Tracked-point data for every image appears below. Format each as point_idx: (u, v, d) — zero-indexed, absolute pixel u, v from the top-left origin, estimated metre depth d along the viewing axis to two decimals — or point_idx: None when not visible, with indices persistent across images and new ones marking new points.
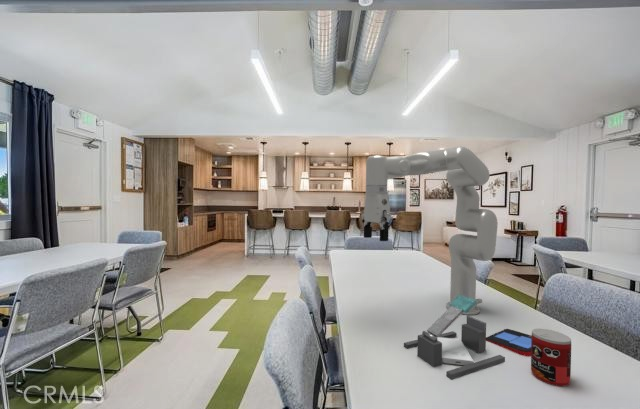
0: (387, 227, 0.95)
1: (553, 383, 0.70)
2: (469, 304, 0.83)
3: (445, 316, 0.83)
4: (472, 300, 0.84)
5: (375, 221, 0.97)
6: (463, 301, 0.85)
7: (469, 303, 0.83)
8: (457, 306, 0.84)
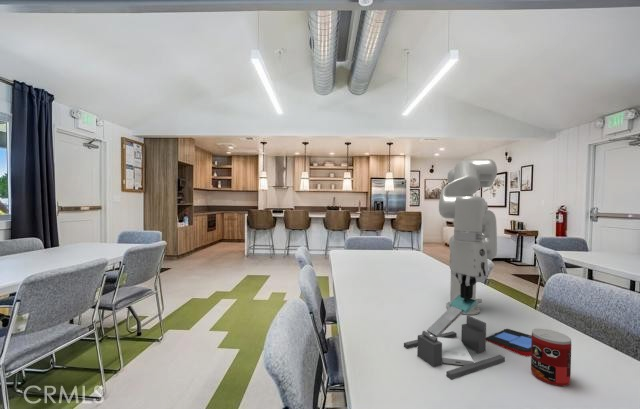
0: (473, 283, 0.84)
1: (553, 383, 0.70)
2: (469, 304, 0.83)
3: (445, 316, 0.83)
4: (472, 300, 0.84)
5: (470, 275, 0.82)
6: (463, 302, 0.85)
7: (469, 303, 0.83)
8: (457, 306, 0.84)
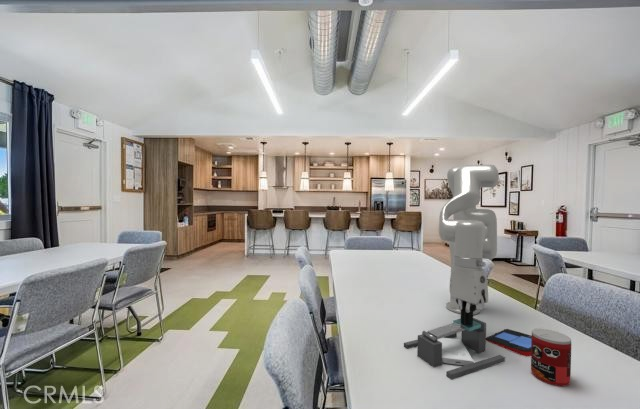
0: (473, 310, 0.83)
1: (553, 383, 0.70)
2: (474, 325, 0.84)
3: (448, 327, 0.84)
4: (477, 323, 0.85)
5: (470, 302, 0.82)
6: None
7: (474, 324, 0.84)
8: None
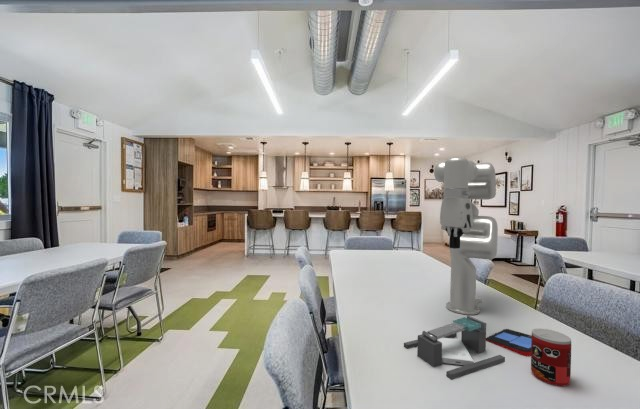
0: (460, 234, 0.95)
1: (553, 383, 0.70)
2: (474, 325, 0.84)
3: (448, 327, 0.84)
4: (477, 323, 0.85)
5: (457, 226, 0.94)
6: (468, 322, 0.86)
7: (474, 324, 0.84)
8: (461, 323, 0.85)
